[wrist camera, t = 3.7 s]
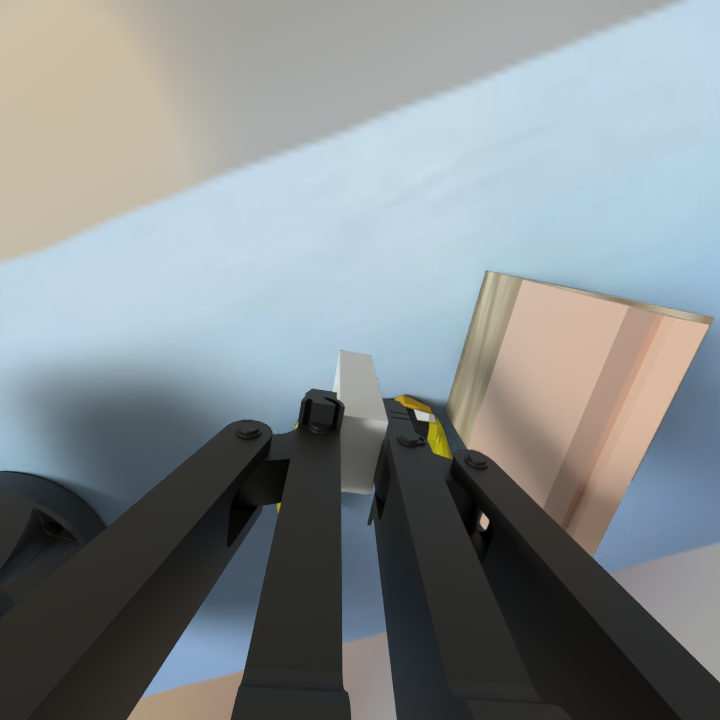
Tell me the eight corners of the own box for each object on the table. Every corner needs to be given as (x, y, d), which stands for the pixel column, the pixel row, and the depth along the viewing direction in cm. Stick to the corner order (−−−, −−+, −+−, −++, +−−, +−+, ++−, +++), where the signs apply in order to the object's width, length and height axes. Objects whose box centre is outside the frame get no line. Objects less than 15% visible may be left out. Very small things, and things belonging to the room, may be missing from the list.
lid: (475, 464, 24) (460, 461, 24) (537, 282, 20) (519, 278, 20) (540, 660, 12) (511, 653, 13) (709, 325, 9) (666, 316, 9)
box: (444, 411, 31) (473, 458, 25) (485, 270, 27) (532, 281, 21) (572, 430, 32) (632, 480, 26) (628, 299, 29) (714, 317, 22)
